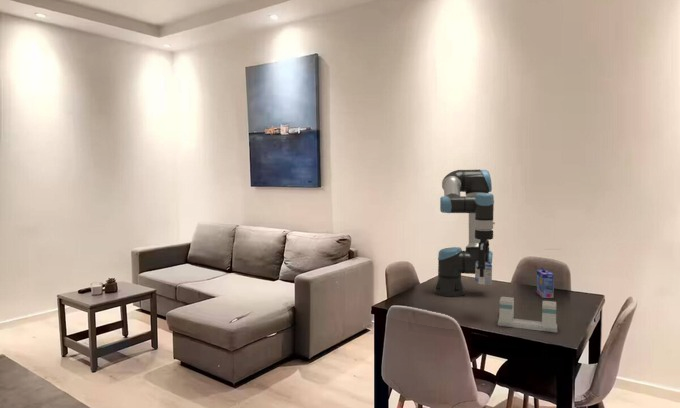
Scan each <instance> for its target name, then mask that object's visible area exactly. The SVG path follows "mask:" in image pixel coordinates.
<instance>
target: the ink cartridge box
mask: <svg viewBox="0 0 680 408" xmlns="http://www.w3.org/2000/svg"><path fill="white" fill-rule="evenodd" d="M540 268H541V269H536V294H538V295H539V296H540V297H541V298H542V299H554V296H555V294H554V293H555V292H554V291H555V290H554V285H555V284H554V282H555V281H554V279H555V278H554V273H553V272H551V271H549V270H548V269H545V268H544V267H543V266H540Z"/></svg>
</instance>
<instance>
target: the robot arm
mask: <svg viewBox="0 0 680 408" xmlns="http://www.w3.org/2000/svg"><path fill="white" fill-rule="evenodd" d="M441 187H442V188H441V189H442V190H443V194H444V195H443V196H440V202H439V204H440V205H439V207H440V208H439V211H440V212H441V213H444V214H468V244H467V246H466V247H465V250H462V247H457V246H453V247H446V248H442V249H440V250H439V251H438V255H437V257H438V258H437V260H438V264H437V265H438V266H437V267H438V268H437V274H438V275H437V280H436V283H435V285H434V286H435V287H434V294H436V295H439V296H443V297H461V296H463V295H465V293H466V292H465V287H464V286H465V285H464V282H463V280H462V274H471V275H475V266H476V261H478V267H477V269H479V275H478V282H477V284H478V285H482V284H483V285H482V286H485V262H487V263H489V264H491V265H492V266H493V251H492V250H490V242H489V240H493V239H494V225H496V222H494V210H495V209H494V204H495V199H494V198H495V197H494V194H493V193H491V192H492V190H493V186H492V178H491V174H490V171H489V170H487V169H455V170H453V171H451V172H449V173H447V174H446V175H445V176H444V177H443V179H442V181H441ZM461 193H465V195H464V196H461ZM480 265H482V266H480Z"/></svg>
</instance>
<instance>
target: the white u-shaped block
mask: <svg viewBox="0 0 680 408" xmlns="http://www.w3.org/2000/svg"><path fill="white" fill-rule="evenodd" d="M514 300H515V298H514V297H510V296H501V297H500V299H499V306H498V307H499V309H498V310H499V311H498V312H499V313H498V314H499V315H498V316H499V318H498V321H497V326H498V327H507V328H515V329H522V330H529V331H530V330H534V331H541V332H547V333H554V334H555V333H557V334H558V323H557V301H552V300H542V304H541V305H542V307H541V311H542V312H541V314H542V315H541V321H538V320H530V319H521V318H514V313H515V311H514V309H515V308H514V307H515V306H514V305H515V301H514Z"/></svg>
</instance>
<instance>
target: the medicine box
mask: <svg viewBox="0 0 680 408" xmlns="http://www.w3.org/2000/svg"><path fill="white" fill-rule="evenodd" d="M480 266H482V265H480ZM477 267H478V261H476V266H475V274H474V277H475V278H474V281H475V282H477V283H478V275H479V269H477ZM492 281H493V264H492V265H491V264H489V263H487V262H485V285H486V286H491V285H492V284H493V282H492ZM485 285H483V284H481V286H485Z"/></svg>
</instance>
